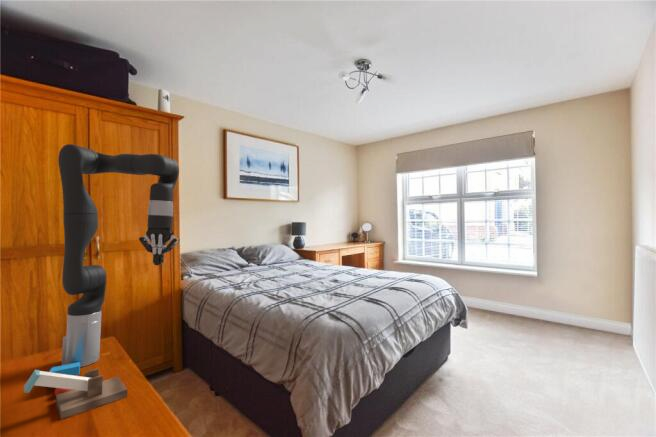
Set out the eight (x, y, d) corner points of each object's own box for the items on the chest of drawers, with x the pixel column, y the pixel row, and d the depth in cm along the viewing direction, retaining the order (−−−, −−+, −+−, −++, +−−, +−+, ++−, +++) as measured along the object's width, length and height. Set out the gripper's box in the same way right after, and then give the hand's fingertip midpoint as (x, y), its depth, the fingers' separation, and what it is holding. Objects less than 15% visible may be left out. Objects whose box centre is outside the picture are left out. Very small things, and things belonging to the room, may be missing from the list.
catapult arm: (96, 377, 84) (35, 369, 75) (99, 382, 82) (36, 374, 73) (87, 393, 83) (23, 386, 74) (90, 398, 80) (24, 392, 71)
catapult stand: (117, 383, 91) (118, 359, 91) (127, 396, 84) (128, 371, 84) (55, 402, 80) (57, 376, 80) (61, 419, 74) (62, 391, 74)
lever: (50, 391, 93) (44, 402, 80) (52, 367, 95) (47, 374, 82) (79, 384, 98) (78, 393, 84) (80, 361, 99) (79, 367, 86)
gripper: (134, 213, 98) (131, 266, 97) (175, 214, 98) (172, 267, 98) (146, 213, 105) (144, 263, 105) (185, 215, 106) (182, 264, 105)
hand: (158, 265), depth 101 cm, fingers closed
